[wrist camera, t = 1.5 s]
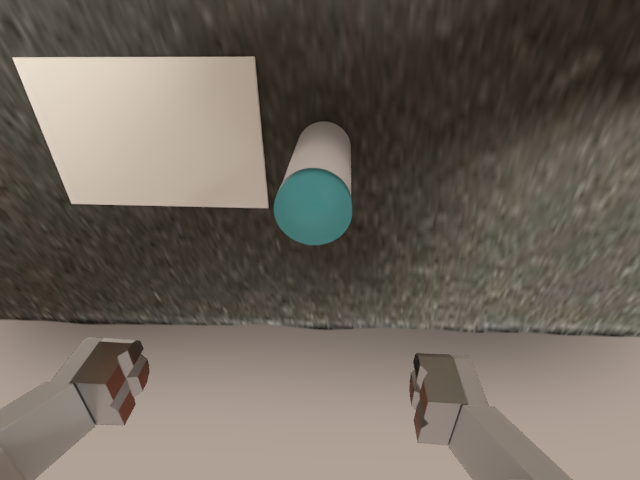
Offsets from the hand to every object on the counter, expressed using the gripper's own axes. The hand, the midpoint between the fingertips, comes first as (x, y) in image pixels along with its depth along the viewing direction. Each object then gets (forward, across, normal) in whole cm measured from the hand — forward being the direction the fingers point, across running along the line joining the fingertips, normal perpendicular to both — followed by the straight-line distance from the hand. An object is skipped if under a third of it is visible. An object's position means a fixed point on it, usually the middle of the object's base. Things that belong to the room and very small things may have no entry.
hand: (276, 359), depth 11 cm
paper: (+22, +14, 0) cm, 26 cm away
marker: (+22, 0, 0) cm, 22 cm away
